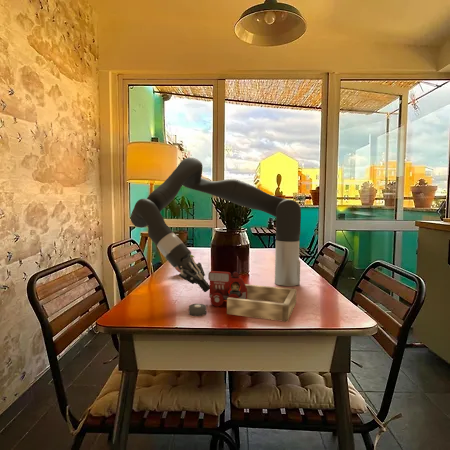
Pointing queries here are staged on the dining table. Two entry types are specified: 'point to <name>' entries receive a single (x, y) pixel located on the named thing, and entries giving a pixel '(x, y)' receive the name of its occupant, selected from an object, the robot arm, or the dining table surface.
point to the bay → (264, 303)
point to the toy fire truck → (225, 287)
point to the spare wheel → (197, 309)
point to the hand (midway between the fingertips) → (208, 290)
